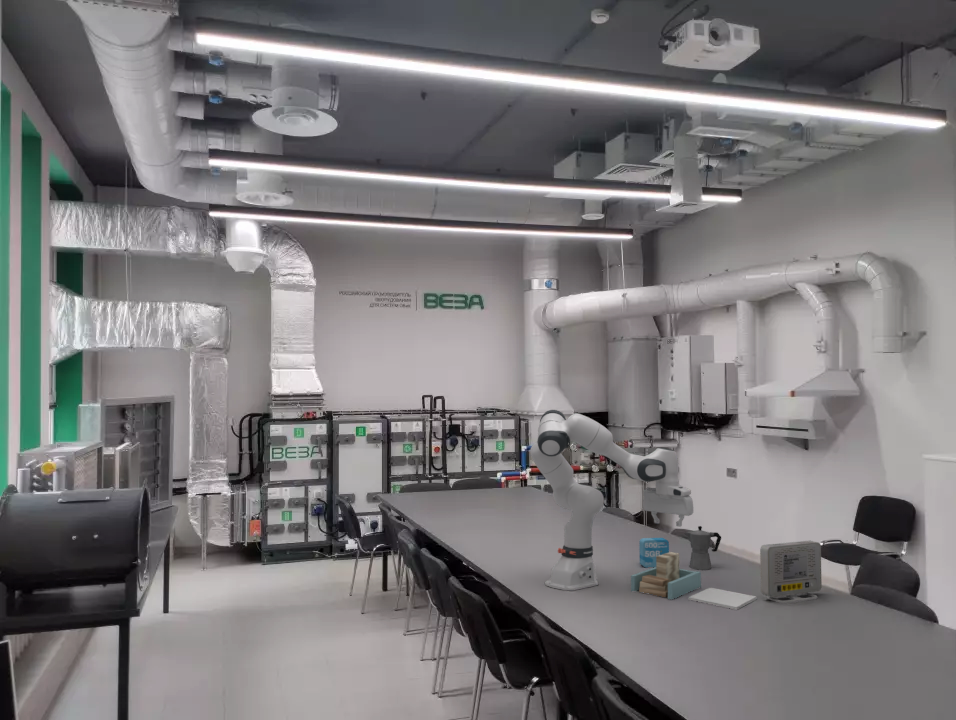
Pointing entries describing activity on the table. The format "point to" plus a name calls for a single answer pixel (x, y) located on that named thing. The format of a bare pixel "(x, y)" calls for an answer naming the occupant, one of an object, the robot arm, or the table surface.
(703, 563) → the coffeepot
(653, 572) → the tray
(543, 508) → the table surface
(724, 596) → the pad
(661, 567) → the beige wooden block
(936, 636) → the table surface
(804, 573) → the network device
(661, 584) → the offcut stack
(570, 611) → the table surface
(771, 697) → the table surface
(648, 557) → the data package
